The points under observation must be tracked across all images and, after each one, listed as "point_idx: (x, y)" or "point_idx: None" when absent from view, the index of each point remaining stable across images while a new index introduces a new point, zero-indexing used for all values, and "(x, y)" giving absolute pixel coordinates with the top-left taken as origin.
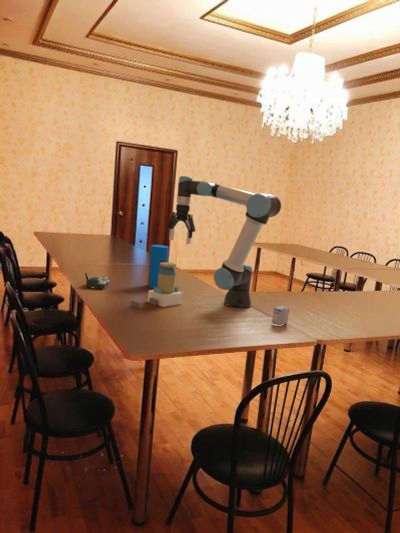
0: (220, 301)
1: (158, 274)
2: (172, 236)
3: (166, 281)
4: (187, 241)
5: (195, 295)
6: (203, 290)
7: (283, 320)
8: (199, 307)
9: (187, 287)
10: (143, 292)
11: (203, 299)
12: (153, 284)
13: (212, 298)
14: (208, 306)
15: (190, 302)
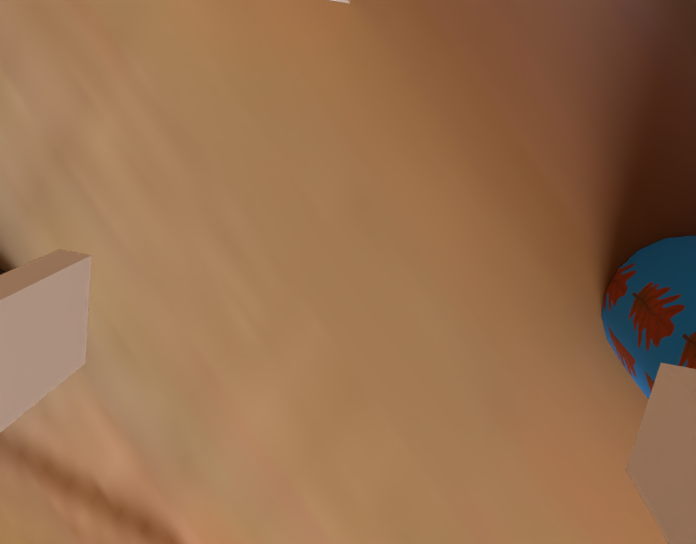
0: None
1: (681, 288)
2: (679, 490)
3: None
4: (25, 270)
5: (284, 316)
6: (346, 507)
7: None
8: (31, 6)
9: (483, 493)
10: (623, 10)
11: (171, 257)
12: (678, 243)
13: (154, 343)
14: (17, 99)
15: (166, 81)
